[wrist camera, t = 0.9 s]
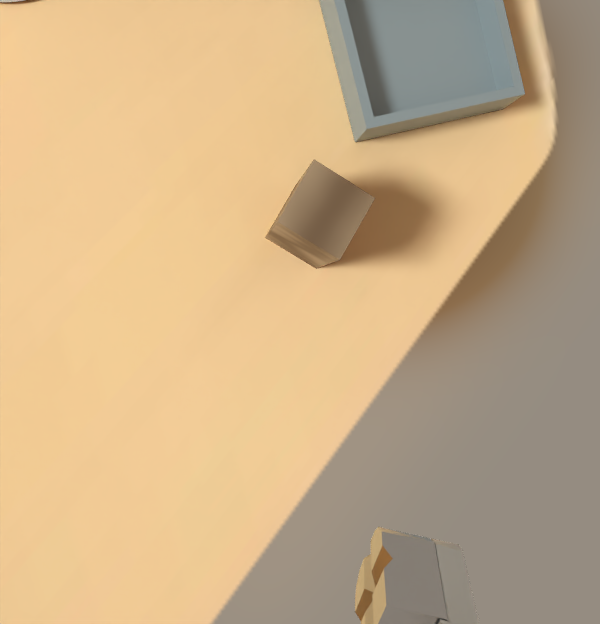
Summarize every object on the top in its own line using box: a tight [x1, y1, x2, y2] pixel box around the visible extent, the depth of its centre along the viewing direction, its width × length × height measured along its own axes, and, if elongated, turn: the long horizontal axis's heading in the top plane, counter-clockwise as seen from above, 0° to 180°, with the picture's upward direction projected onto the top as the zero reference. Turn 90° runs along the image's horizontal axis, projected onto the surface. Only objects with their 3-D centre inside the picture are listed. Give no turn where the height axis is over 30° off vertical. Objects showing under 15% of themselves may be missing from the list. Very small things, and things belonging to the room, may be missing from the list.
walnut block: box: [265, 160, 375, 269], centre depth 42 cm, size 5×5×8 cm
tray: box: [319, 0, 525, 142], centre depth 46 cm, size 14×14×4 cm
